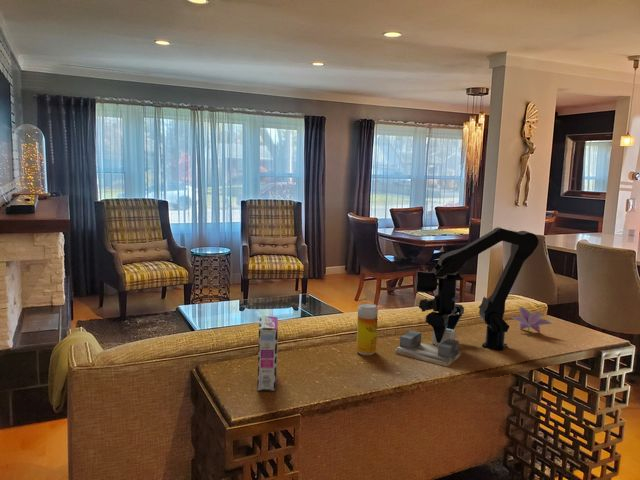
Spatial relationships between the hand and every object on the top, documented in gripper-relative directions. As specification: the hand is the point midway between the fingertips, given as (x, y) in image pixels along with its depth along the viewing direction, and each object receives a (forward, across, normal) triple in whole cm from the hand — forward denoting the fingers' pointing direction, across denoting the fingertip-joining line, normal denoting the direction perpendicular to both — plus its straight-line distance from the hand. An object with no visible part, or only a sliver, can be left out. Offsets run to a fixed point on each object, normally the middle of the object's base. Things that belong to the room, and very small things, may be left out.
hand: (443, 339), depth 166 cm
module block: (+2, 0, 0) cm, 2 cm away
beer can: (+2, +23, -16) cm, 28 cm away
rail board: (+2, +12, 0) cm, 12 cm away
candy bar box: (+2, +59, -25) cm, 64 cm away
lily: (+2, -31, +20) cm, 37 cm away
